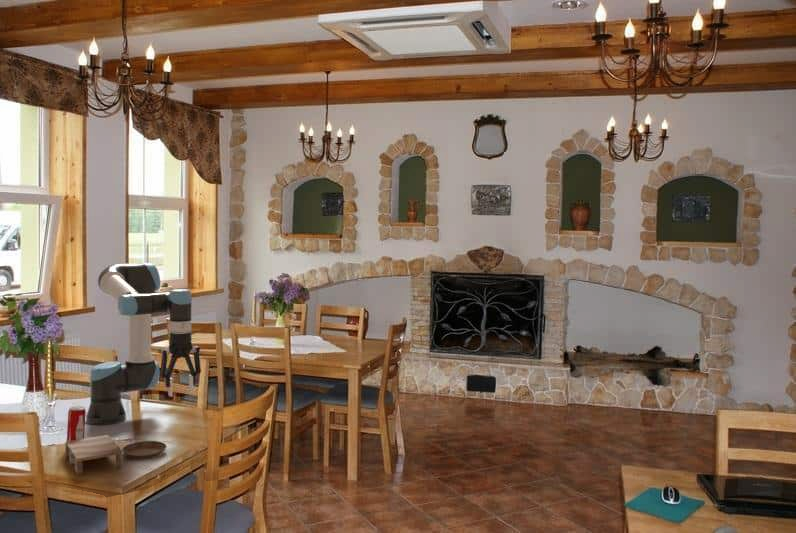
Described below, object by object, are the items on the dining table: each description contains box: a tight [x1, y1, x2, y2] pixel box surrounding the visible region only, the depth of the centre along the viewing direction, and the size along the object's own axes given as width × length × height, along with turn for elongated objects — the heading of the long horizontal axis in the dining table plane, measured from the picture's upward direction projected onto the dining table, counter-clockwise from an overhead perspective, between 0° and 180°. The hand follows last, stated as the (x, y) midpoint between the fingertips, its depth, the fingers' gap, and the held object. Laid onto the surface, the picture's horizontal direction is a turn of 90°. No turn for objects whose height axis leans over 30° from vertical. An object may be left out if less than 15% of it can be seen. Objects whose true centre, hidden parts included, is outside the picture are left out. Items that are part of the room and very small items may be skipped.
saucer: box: [121, 440, 167, 461], centre depth 246 cm, size 15×15×3 cm
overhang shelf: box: [65, 434, 123, 477], centre depth 236 cm, size 20×14×6 cm
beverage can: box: [66, 405, 87, 441], centre depth 250 cm, size 6×6×15 cm
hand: (180, 394), depth 252 cm, fingers open, 7 cm apart
